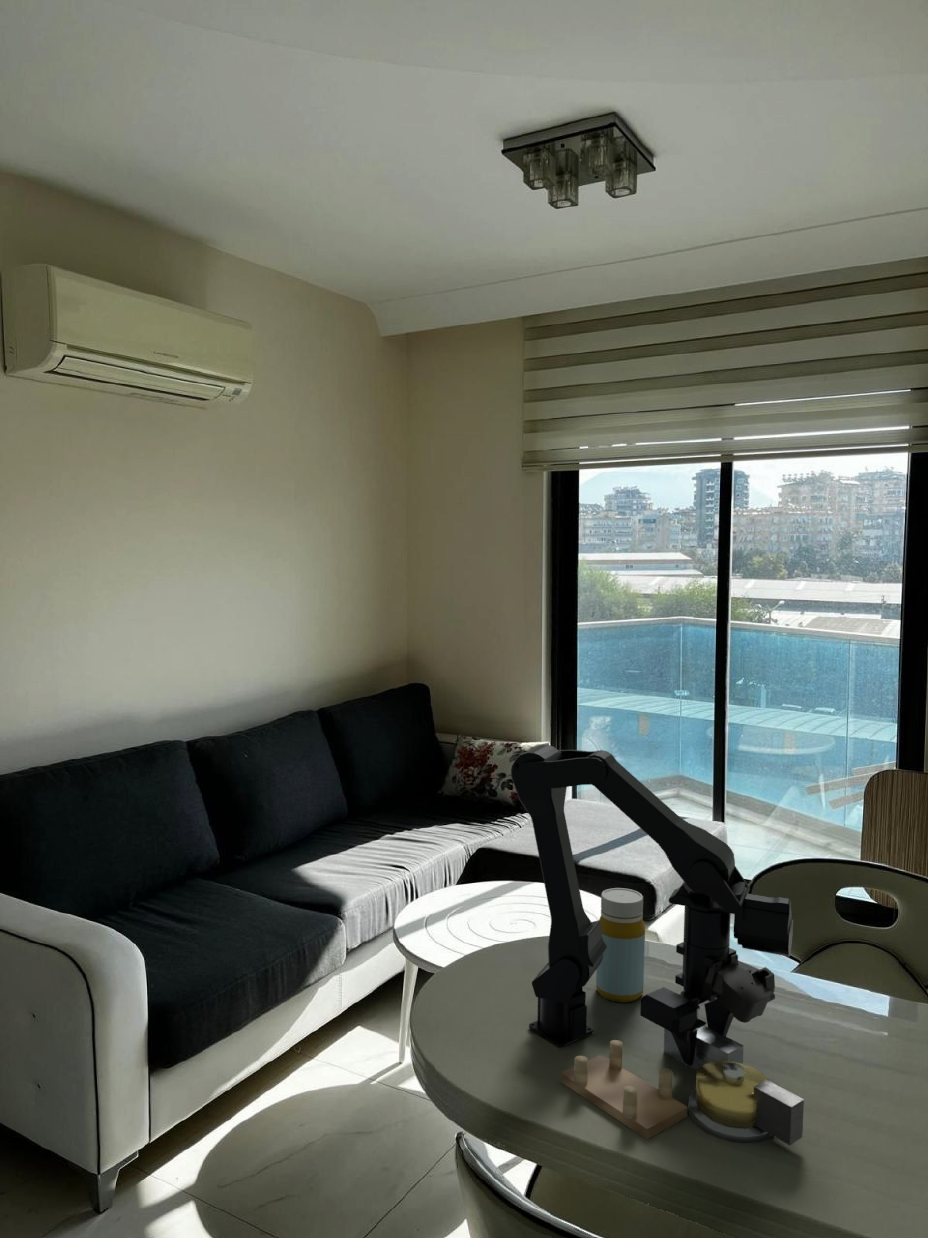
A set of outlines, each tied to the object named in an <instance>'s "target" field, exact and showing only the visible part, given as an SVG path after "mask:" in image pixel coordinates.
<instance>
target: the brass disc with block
mask: <svg viewBox="0 0 928 1238" xmlns="http://www.w3.org/2000/svg"><path fill="white" fill-rule="evenodd" d="M726 1063H737V1062H732V1061H714V1062H710V1063H707V1064H704V1065H703V1066H701V1067H700V1068H699V1069H698V1071H697V1070H696V1071H697V1072H696V1075H695V1076H696V1082H695V1089H696V1103H697V1106H698V1108H699V1109H700V1110H701V1111H702V1112H703V1113H704V1114H705V1115H706V1116H708V1117H709V1118H711V1119H713V1120H715V1121H717V1122H720V1123H723V1124H726V1125H730V1126H736V1127H751V1126H757V1127H759V1128H761V1129H762V1130H764V1131H766V1132H767V1133H769V1134H771V1136H773V1137H774V1138H776V1139H778V1140H780V1141H781V1142H783V1143H785V1144H787V1145H788V1146H791V1145H793V1144H794V1143H796V1142H798V1141H799V1140H800V1139H802V1138H803V1133H804V1132H803V1131H804V1130H803V1127H804V1110H805V1109H804V1108H805V1107H804V1105H805V1104H804V1103H805V1099H804V1098H803V1097H801V1096H798V1095H796V1094H794V1093H793V1092H791V1091H789V1090H787V1089H785V1088H783V1087H781V1086H779V1085H777V1084H775V1083H773V1082H772V1081H770V1080H769V1079H768V1077H767V1076H766V1075H765V1074H764V1073H762V1071H760V1070H758V1069H757V1068H755V1067H752V1066H750V1065H747V1064H744V1063H743V1064H741V1063H737V1064H739V1065H741V1066H742V1067H743V1068H744V1082H742V1083H740V1084H733V1083H729V1082H727V1081H726V1080H724V1078H723V1065H724V1064H726Z"/></svg>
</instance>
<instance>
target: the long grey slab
mask: <svg viewBox="0 0 928 1238" xmlns="http://www.w3.org/2000/svg"><path fill="white" fill-rule="evenodd" d="M663 1029H664V1033H663V1037H664V1038H663V1053H664V1052H665V1053H664V1054H666V1053H667V1054H666V1055H668V1056H670V1057H672V1058H673V1059H675V1060H677V1061H678V1062H681V1063H682V1064H684V1065H686V1064H685V1063H684V1061H683V1059H682V1056H681V1054H680V1052H679V1049H678V1047H677V1045H676V1043H675V1040H674V1038H673V1036H672V1034H671V1032H670V1031H668V1030H666V1029H665V1028H663ZM744 1048H745V1047H744V1044H743V1043H742V1044H741V1043H740V1042H737V1041H736V1040H734V1039H732V1038H730V1037H728V1036H727V1035H726V1036H724V1035H722V1034H720V1033H718V1032H716V1031H714V1030H712V1029H710V1028H708V1026H707V1025H704V1026H703V1027H701V1028H700V1029H698V1031H697V1039H696V1047H695V1056H694V1061H693V1065H691V1066H689V1065H687V1067H690V1068H691V1067H692V1068H691V1069H693V1068H694V1069H693V1070H695V1071H698V1069H699V1068H700V1067H701V1066H703V1065H704V1064H707V1063H710V1062H714V1061H732V1062H737V1063H741V1064H744Z"/></svg>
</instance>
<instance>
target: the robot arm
mask: <svg viewBox="0 0 928 1238" xmlns="http://www.w3.org/2000/svg"><path fill="white" fill-rule="evenodd" d="M510 777H511V780H512V783H513V786H514V789H515V791H516V794H517V796H518V799H519V801H520V803H521V804H522V806H523V807H524V809H525V810H526V812H527V814H528V815H529V816H530V819H531V823H532V828H533V832H534V837H535V838H534V839H535V843H536V848H537V853H538V857H539V863H540V869H541V874H542V878H543V879H542V880H543V885H544V889H545V895H546V899H547V904H548V910H549V913H550V929H549V930H550V931H549V936H548V944H547V950H548V951H547V954H548V962H547V963H546V964H545V966H544V967H542V969H541V970H540V971H539V973H538V974H537V975H536V977H534V979H533V980H532V981H531V986H532V989H533V993H534V996H535V997H536V998H537V1016H536V1017H537V1020H534V1021H533V1022H530V1023H529V1024H528V1027H529V1029H530V1030H531V1031H533V1032H534V1033H535V1034H538V1035H539V1036H541V1037H543V1038H544V1039H546V1040H548V1041H549V1042H551V1043H552V1044H554V1045H555V1046H557V1047H558V1048H559V1047H560V1048H561V1047H564V1046H567V1045H569V1044H571V1043H573V1042H576V1041H578V1040H580V1039H582V1038H585V1037H587V1036H589V1035H591V1034H593V1033H594V1029H593V1028H592V1027H591V1026H589V1025H587V1022H588V1021H587V1019H588V1018H587V1017H588V1006H587V1004H586V1002H587V1001H586V999H587V992H586V991H584V990H583V988H584V987H585V986H586V985H587V983H588V982H589V981H590V979H591V978H592V976H593V975H594V974H595V973H596V970H597V968H598V966H599V965H600V964H601V962H602V959H603V952H604V951H605V950H606V948H607V946H606V944H605V943H604V941H603V937H602V925H601V921H600V920H594V921H591V920H590V918H589V916H588V915H587V914H586V912H585V910H584V906H583V902H582V901H583V899H582V895H581V890H580V885H579V881H578V880H579V879H578V875H577V870H576V865H575V861H574V854H573V849H572V846H571V845H572V844H571V839H570V835H569V829H568V825H567V819H566V813H565V803H566V795H567V787H575V786H589V785H590V786H593V787H594V788H595V789H597V791H599V793H601V794H602V795H603V796H605V798H607V799H608V800H609V801H610V802H611V803H613V805H614V806H615V807H616V808H618V809H619V810H620V811H621V812H622V813H623V814H624V815H625V816H626V817H628V818H629V819H630V820H631V821H632V822H633V823H634V824H635V825H636V826H637V827H638V828H639V829H641V830H642V831H643V832H644V833H645V834H646V835H647V836H649V838H651V839H652V840H653V841H654V842H655V843H656V844H658V846H659V847H660V849H661V850H662V851H663V853H664V855H665V856H666V858H667V860H668V861H669V863H670V865H671V867H672V868H673V870H674V871H675V872H676V873H677V874H678V876H679V877H680V879H681V880H682V881H683V883H681V886H679V887H678V888H676V889H674V890H673V891H672V893H671V895H670V896H669V898H668V903H669V904H671V905H677V906H682V907H684V913H683V914H684V915H683V916H684V917H683V919H684V920H683V942H680V943H678V944H676V946H675V947H676V949H675V950H676V951H675V953H677V954H680V955H681V956H682V972H680V973H677V974H676V975H675V976H674V977H675V981H674V983H675V984H677V985H679V986H681V987H683V990H681V991H680V994H679V993H677V992H675V991H673V990H671V989H668V988H667V987H661V988H659V989H656V990H654V991H651V992H649V993H647V994H645V995H644V996H642V997H641V998H640V1003H639V1004H640V1005H639V1006H640V1008H639V1009H640V1010H639V1014H640V1015H639V1016H640V1017H642V1018H644V1019H646V1020H648V1021H650V1022H651V1023H653V1024H655V1025H657V1026H659V1027H661V1028H663V1029H664V1028H665V1029H666V1030H668V1031H670V1032H671V1034H672V1036H673V1038H674V1040H675V1043H676V1045H677V1047H678V1049H679V1052H680V1054H681V1056H682V1059H683V1061H684V1063H685V1064H684V1063H683V1064H684V1065H686V1064H687V1065H686V1066H688V1065H689V1066H691V1065H693V1061H694V1056H695V1047H696V1039H697V1031H698V1029H700V1028H701V1027H703V1026H707V1027H708V1028H710V1029H712V1030H714V1031H716V1032H718V1033H720V1034H722V1035H724V1036H726V1037H727V1035H728V1032H729V1029H730V1027H731V1025H732V1022H733V1020H734V1018H735V1019H736V1020H737V1021H738V1022H741V1023H743V1024H745V1023H749V1022H750V1021H751V1020H754V1019H755V1018H757V1017H761V1016H763V1015H764V1012H765V1009H766V1007H767V1006H768V1003H769V1002H771V1001H774V1000H775V999H776V994H775V989H776V983H775V974H774V972H772V970H770V969H769V968H767V967H766V966H765V967H762V968H760V969H759V968H757V967H755V966H752V965H751V964H750V965H749V964H747V963H746V962H743V961H740V960H739V955H738V954H737V950H736V949H733V948H730V947H731V946H730V939H731V916H732V915H733V914H734V916H733V917H734V920H733V938H734V939H736V941H737V945H740V946H741V947H742V949H746V950H750V951H755V952H756V951H757V952H762V953H768V954H774V955H778V956H784V957H791V952H792V951H791V950H792V943H793V933H794V932H793V930H794V919H792V917H793V916H792V915H793V914H792V900H791V899H790V898H787V897H780V896H779V897H769V896H764V895H758V894H752V893H749V892H750V889H751V888H750V886H749V884H748V883H747V881H746V880H745V879H744V877H743V875H742V874H741V872H740V871H739V870H738V868H737V866H736V860H735V859H736V858H735V853H734V852H733V849H732V848H731V847H730V846H729V845H728V844H727V843H726V842H725V841H723V840H721V839H720V838H718V837H717V836H715V835H714V834H712V833H711V832H709V831H707V830H706V829H704V828H701V827H699V826H698V825H697V826H696V825H694V824H693V823H690V822H688V821H686V820H685V819H683V818H681V817H680V816H679V815H678V814H677V812H675V811H674V810H672V808H671V807H669V806H668V805H667V804H666V803H665V802H663V801H662V800H661V799H660V798H659V797H658V796H657V795H655V793H654V792H652V791H651V790H650V789H648V787H646V786H645V785H644V784H643V783H642V782H641V781H640V780H638V779H637V777H635V776H634V775H633V774H632V773H631V772H630V771H629V770H628V769H627V768H626V767H624V766H623V765H622V764H620V763H619V762H618V761H617V760H616V758H615V757H614V755H613V754H612V753H611V752H609V751H607V750H603V749H601V750H591V751H589V750H580V749H557V748H556V747H555V746H552V745H549V744H540V745H537V746H534V747H533V748H531V749H529V750H528V751H526V752H524V753H522V754H521V755H519V756H518V757H516V759H515V760H514V762H513V763H512V765H511V768H510ZM703 1005H704V1010H705V1017H706V1022H705V1020H702V1019H700V1018H699V1011H700V1009H701V1006H703ZM689 1066H688V1067H689Z"/></svg>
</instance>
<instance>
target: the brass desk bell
mask: <svg viewBox="0 0 928 1238" xmlns="http://www.w3.org/2000/svg"><path fill="white" fill-rule="evenodd" d="M723 1078H724V1080H726V1081H727V1082H729V1083H733V1084H740V1083H742V1082H744V1068H743V1067H742V1066H741V1065H739V1064H737V1063H726V1064H724V1065H723ZM687 1110H688V1114H689V1116H690V1118H691V1120H692V1121H693V1123H694V1124H695V1125H697V1126H698V1127H699V1128H700V1129H701V1130H702V1131H704V1132H706V1133H708V1134H709V1135H712V1136H714V1137H716V1138H718V1139H722V1140H725V1141H729V1142H730V1141H731V1142H737V1143H755V1142H756V1143H757V1142H761V1141H764V1140H766V1139H768V1138H770V1137H771V1136H772V1135H771V1134H769V1133H767V1132H766V1131H764V1130H762V1129H761V1128H759V1127H757V1126H751V1127H736V1126H730V1125H726V1124H723V1123H720V1122H717V1121H715V1120H713V1119H711V1118H709V1117H708V1116H706V1115H705V1114H704V1113H703V1112H702V1111H701V1110H700V1109H699V1108H698V1106H697V1103H696V1088H695V1089H694V1090H693V1091H692V1092H690V1094H689V1098H688V1107H687Z"/></svg>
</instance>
